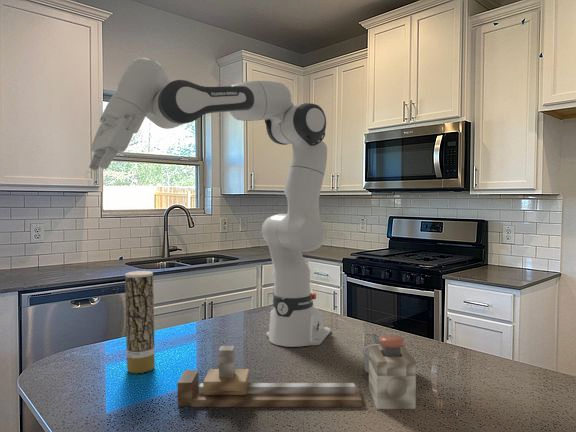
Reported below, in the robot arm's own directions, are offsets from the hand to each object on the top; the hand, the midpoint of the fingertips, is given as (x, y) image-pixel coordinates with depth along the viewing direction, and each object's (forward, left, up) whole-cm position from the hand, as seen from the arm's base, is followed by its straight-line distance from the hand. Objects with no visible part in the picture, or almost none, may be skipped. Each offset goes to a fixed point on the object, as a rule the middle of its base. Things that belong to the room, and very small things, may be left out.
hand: (97, 168), depth 105 cm
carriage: (-8, +31, -49) cm, 59 cm away
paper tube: (-10, +2, -51) cm, 52 cm away
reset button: (-26, +63, -42) cm, 80 cm away
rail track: (-16, +44, -51) cm, 69 cm away
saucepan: (-43, +55, -51) cm, 87 cm away
